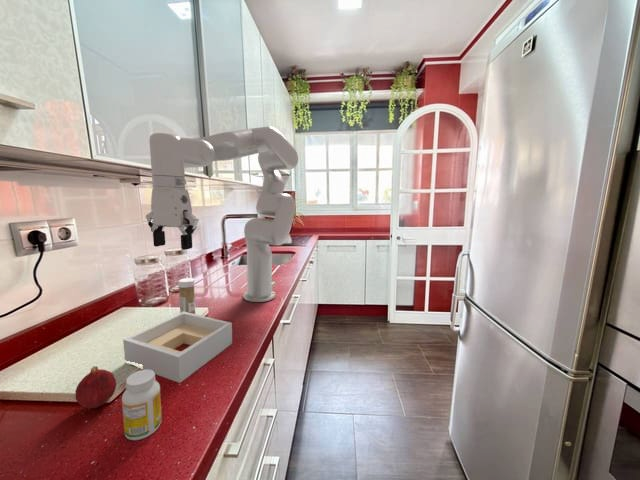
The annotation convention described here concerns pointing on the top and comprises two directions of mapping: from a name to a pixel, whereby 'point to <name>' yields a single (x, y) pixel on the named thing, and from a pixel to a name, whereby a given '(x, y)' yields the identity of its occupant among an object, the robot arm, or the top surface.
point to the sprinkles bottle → (187, 295)
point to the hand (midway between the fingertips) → (173, 247)
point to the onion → (95, 388)
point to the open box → (167, 335)
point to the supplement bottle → (141, 405)
